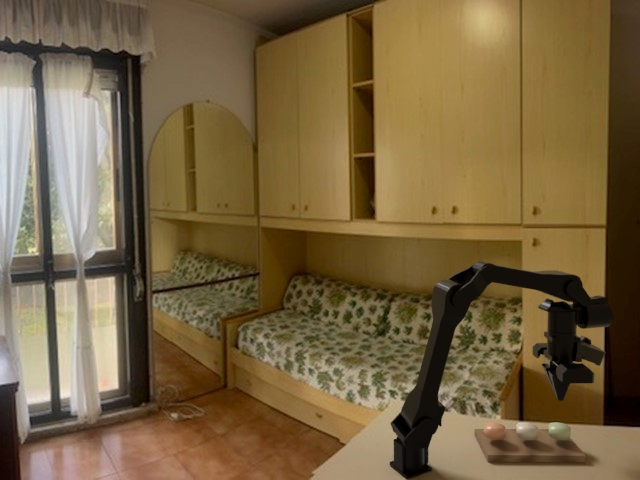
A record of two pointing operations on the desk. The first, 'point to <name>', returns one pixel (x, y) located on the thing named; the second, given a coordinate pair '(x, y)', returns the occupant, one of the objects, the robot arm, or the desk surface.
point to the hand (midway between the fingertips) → (560, 400)
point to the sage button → (559, 431)
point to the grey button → (527, 431)
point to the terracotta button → (494, 431)
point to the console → (528, 448)
